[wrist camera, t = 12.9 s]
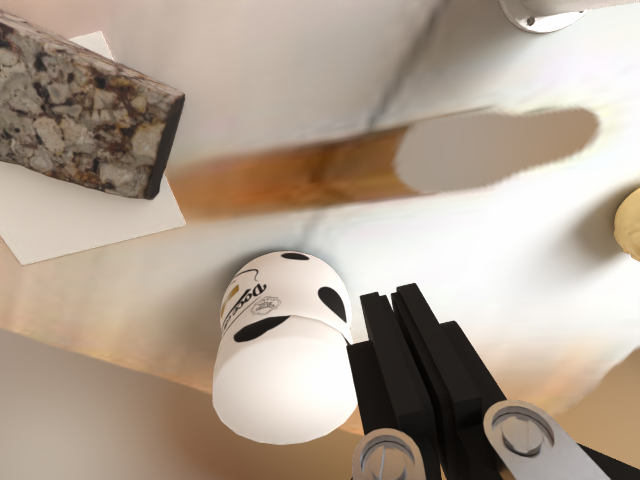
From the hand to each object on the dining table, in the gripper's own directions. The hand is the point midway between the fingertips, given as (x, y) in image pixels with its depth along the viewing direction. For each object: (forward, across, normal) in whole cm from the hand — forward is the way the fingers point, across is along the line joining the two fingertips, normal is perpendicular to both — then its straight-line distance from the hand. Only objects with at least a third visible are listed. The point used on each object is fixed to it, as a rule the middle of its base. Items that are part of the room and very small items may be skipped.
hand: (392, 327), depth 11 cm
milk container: (+35, +9, +22) cm, 43 cm away
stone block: (+32, +16, -2) cm, 36 cm away
